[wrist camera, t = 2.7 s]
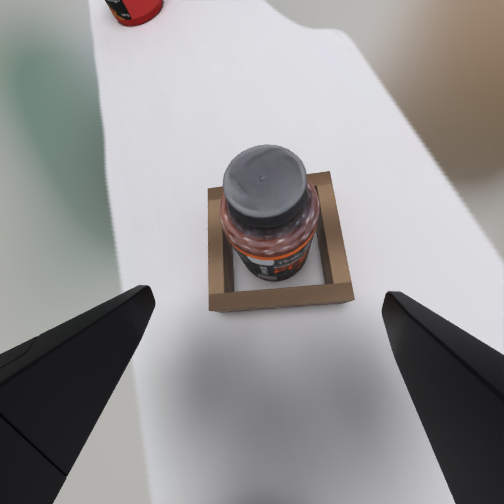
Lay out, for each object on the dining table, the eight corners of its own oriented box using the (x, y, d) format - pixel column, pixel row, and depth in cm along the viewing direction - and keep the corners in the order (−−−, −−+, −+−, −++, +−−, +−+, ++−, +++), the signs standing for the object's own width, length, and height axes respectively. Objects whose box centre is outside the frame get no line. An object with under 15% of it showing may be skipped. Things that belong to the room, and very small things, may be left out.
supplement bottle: (282, 296, 20) (277, 266, 9) (230, 258, 22) (175, 197, 11) (320, 242, 21) (355, 159, 10) (267, 210, 23) (249, 110, 12)
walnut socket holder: (343, 303, 19) (354, 299, 16) (221, 312, 20) (208, 310, 17) (323, 193, 22) (329, 171, 19) (219, 207, 24) (207, 188, 20)
